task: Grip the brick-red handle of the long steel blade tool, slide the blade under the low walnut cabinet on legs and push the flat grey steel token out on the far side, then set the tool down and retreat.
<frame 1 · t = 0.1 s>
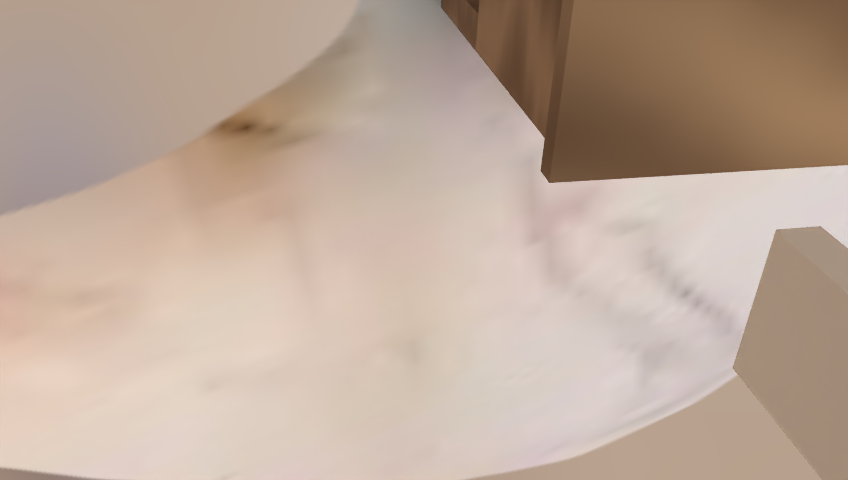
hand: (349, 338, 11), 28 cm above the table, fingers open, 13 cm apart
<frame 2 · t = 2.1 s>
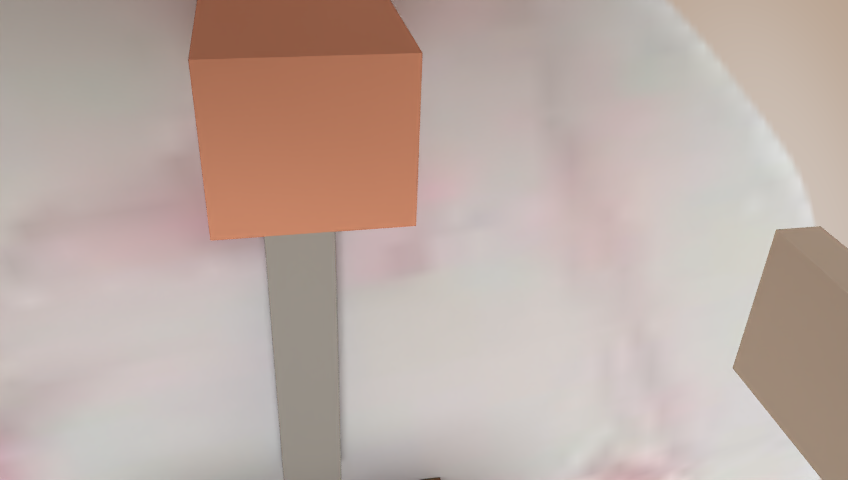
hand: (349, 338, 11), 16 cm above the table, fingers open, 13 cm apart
blade tool: (286, 14, 25), on the table
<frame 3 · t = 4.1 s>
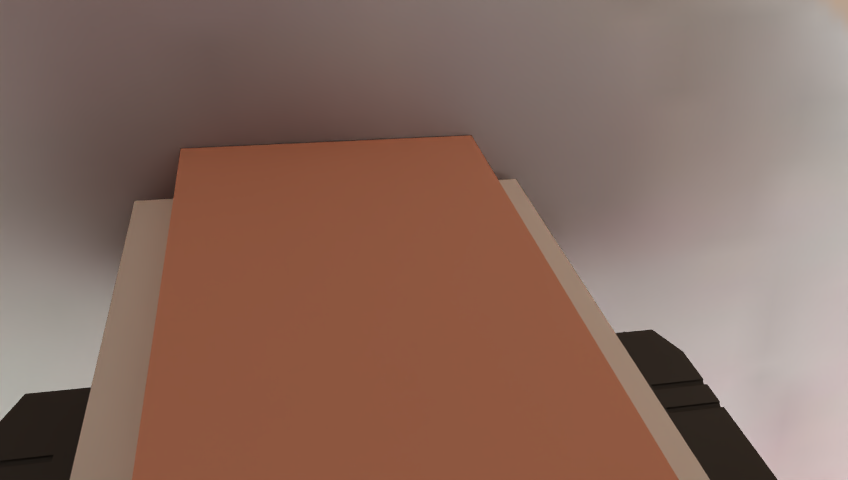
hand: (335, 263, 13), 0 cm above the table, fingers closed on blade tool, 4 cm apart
blade tool: (333, 250, 13), on the table, touching gripper
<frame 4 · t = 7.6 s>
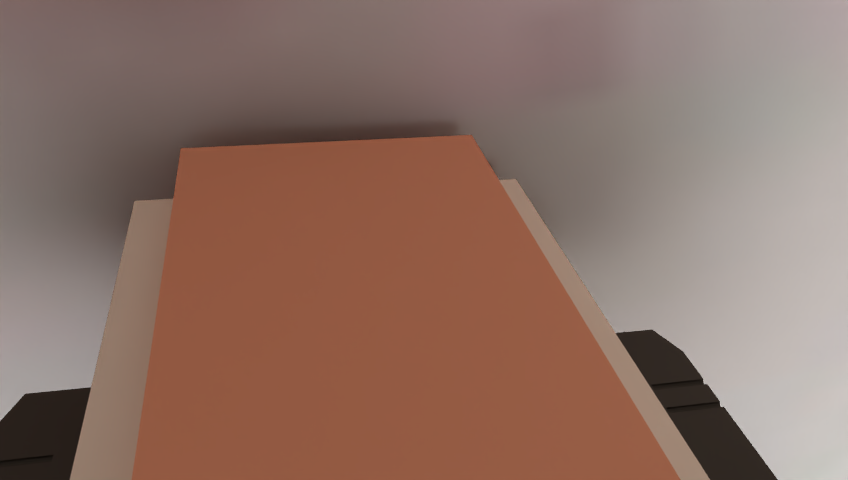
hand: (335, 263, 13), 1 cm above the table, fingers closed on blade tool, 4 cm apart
blade tool: (333, 250, 13), point 1 cm above the table, touching gripper
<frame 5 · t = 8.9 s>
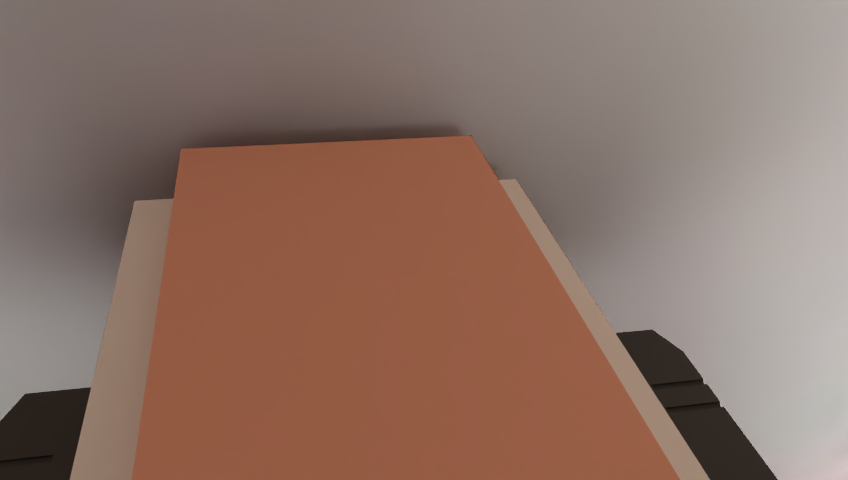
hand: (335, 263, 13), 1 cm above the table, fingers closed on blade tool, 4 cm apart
blade tool: (333, 250, 13), point 1 cm above the table, touching gripper
when the fingers open (0 cm above the table, at t = 11.6 s): blade tool stays where it is, on the table.
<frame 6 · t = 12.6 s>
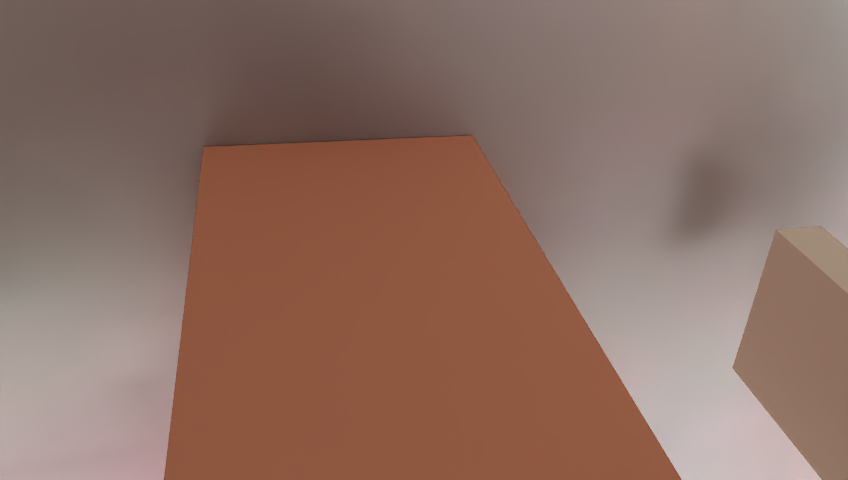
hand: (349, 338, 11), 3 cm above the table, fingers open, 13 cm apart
blade tool: (343, 243, 14), on the table
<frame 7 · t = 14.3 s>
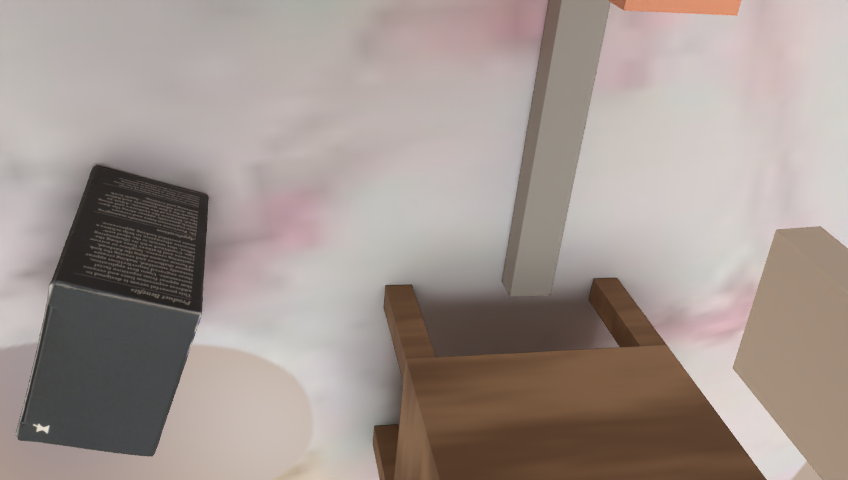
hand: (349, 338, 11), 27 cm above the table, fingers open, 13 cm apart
box: (135, 241, 40), on the table
cabinet: (491, 363, 48), on the table
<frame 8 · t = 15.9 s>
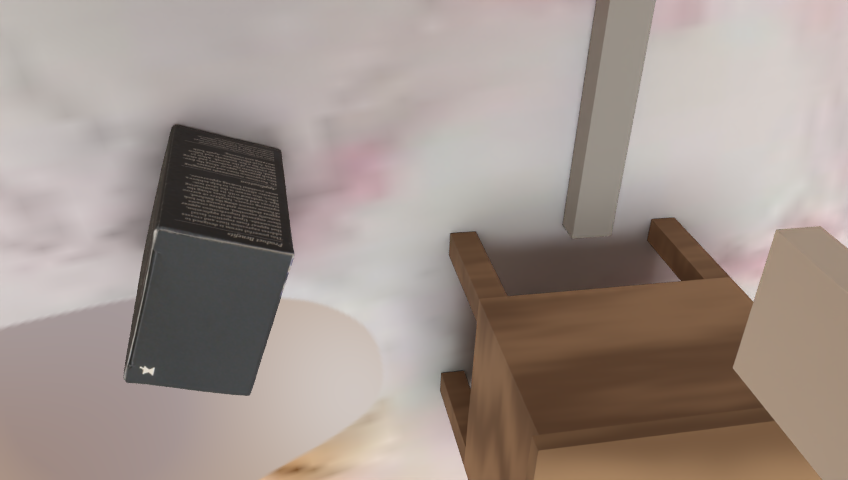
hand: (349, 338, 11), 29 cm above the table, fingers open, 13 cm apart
box: (212, 198, 42), on the table
cabinet: (553, 307, 50), on the table
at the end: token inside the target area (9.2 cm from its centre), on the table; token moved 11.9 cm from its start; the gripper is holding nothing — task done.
